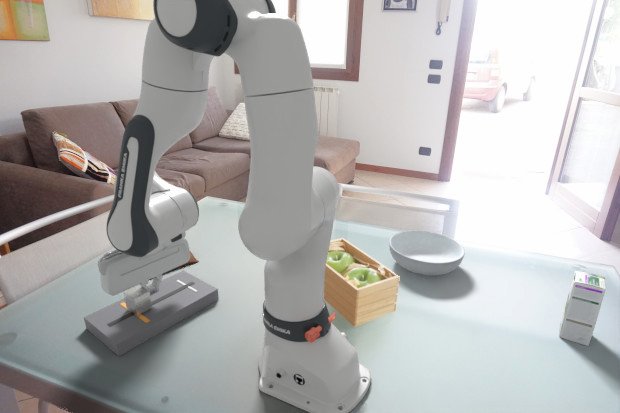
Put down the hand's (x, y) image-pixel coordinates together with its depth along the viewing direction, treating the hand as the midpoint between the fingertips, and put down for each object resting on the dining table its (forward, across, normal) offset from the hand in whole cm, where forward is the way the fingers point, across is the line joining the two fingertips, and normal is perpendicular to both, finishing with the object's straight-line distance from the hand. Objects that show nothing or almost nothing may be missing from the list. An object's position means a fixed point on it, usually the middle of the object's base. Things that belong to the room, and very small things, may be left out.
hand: (152, 293), depth 95 cm
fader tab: (+2, -4, 0) cm, 4 cm away
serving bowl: (+6, +62, -40) cm, 74 cm away
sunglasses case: (+6, +14, +18) cm, 24 cm away
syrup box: (+6, +55, -79) cm, 96 cm away
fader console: (+6, 0, 0) cm, 6 cm away
